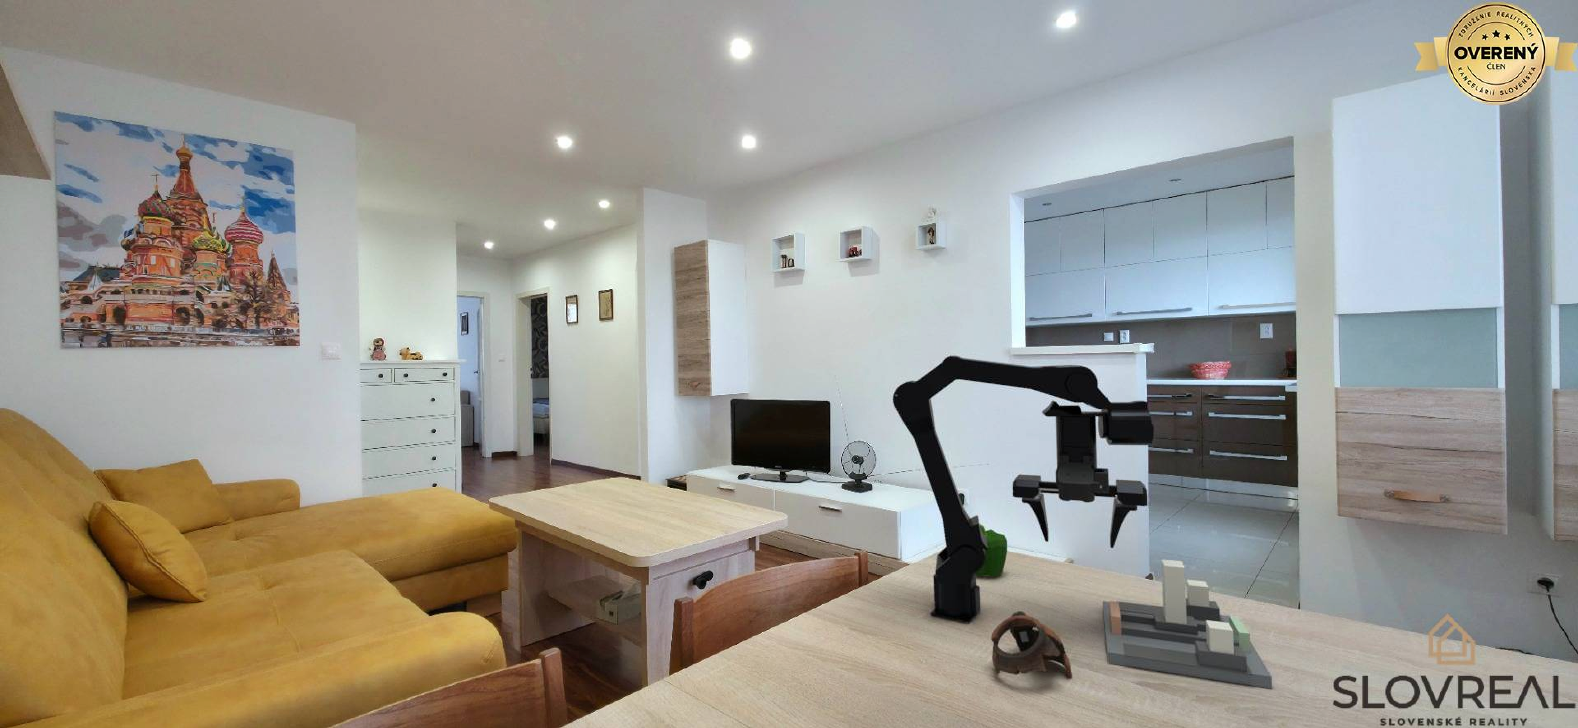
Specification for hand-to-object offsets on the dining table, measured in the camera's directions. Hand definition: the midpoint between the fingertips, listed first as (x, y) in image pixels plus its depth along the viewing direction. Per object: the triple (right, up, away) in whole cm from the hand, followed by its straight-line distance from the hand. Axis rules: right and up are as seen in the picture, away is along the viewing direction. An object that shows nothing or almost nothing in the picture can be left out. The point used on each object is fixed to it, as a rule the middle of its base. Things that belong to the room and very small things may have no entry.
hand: (1078, 544), depth 96 cm
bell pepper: (-7, -13, +23) cm, 28 cm away
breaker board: (+10, -12, -8) cm, 18 cm away
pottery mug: (-13, -13, -14) cm, 23 cm away
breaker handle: (+10, -10, -8) cm, 17 cm away
